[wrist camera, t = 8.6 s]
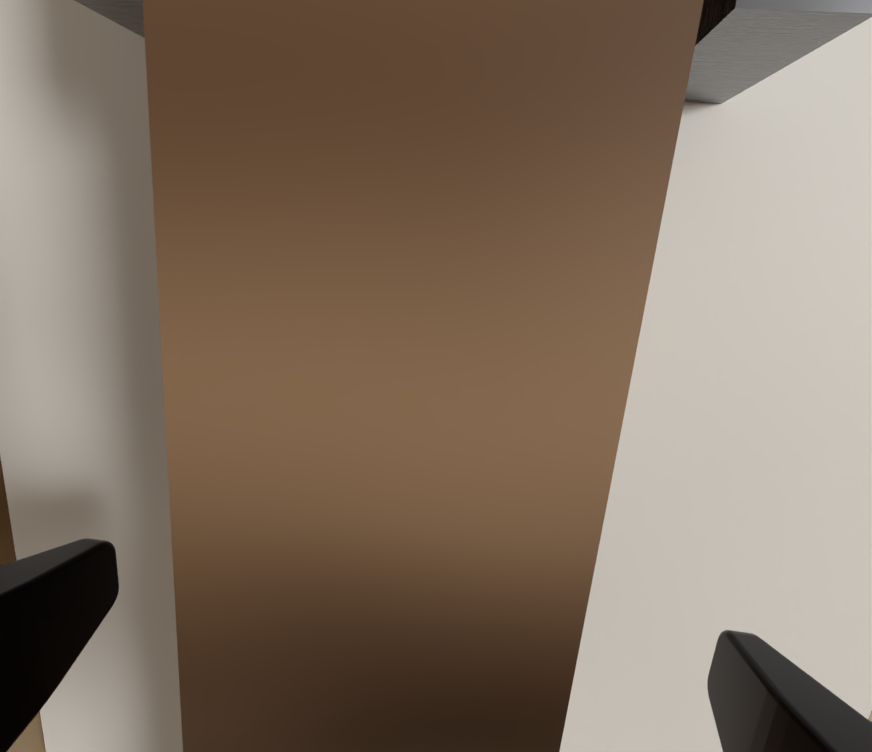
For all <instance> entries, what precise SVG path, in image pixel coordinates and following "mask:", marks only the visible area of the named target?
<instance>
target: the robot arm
mask: <svg viewBox="0 0 872 752" xmlns="http://www.w3.org/2000/svg"><path fill="white" fill-rule="evenodd" d="M118 592H119V579H118V569H117V559H116V550H115V547H114V545H113V544H112V543H111V542H109V541H104V540H97V539H90V538H85V539H80V540H77V541H74V542H71V543H68V544H65V545H62V546H59V547H56V548H53V549H50V550H47V551H44V552H41V553H38V554H35V555H32V556H29V557H26V558H23V559H20V560H17V561H14V562H11V563H8V564H5V565H2V566H0V752H7V751H8V750H9V748H10V747H11V746H12V745H13V743H14V742H15V741H16V740H17V739H18V737H19V736H20V735H21V734H22V732H23V731H24V730H25V729H26V727H27V726H28V725H29V724H30V722H31V721H32V720H33V719H34V717H35V716H36V715H37V714H38V712H39V711H40V710H41V709H42V707H43V706H44V705H45V703H46V702H47V701H48V699H49V698H50V697H51V695H52V694H53V692H54V691H55V690H56V688H57V687H58V686H59V684H60V683H61V681H62V680H63V678H64V677H65V675H66V674H67V672H68V671H69V670H70V668H71V667H72V665H73V664H74V662H75V661H76V659H77V658H78V656H79V655H80V653H81V652H82V650H83V649H84V647H85V646H86V645H87V643H88V642H89V640H90V639H91V637H92V636H93V634H94V633H95V631H96V630H97V628H98V627H99V625H100V624H101V623H102V621H103V620H104V618H105V617H106V615H107V614H108V612H109V611H110V609H111V608H112V606H113V605H114V603H115V601H116V599H117V596H118ZM707 689H708V696H709V700H710V704H711V708H712V712H713V716H714V719H715V723H716V727H717V731H718V735H719V739H720V743H721V747H722V750H723V752H872V722H871V721H869V720H868V719H867V718H865V717H864V716H863V715H861V714H860V713H859V712H857V711H856V710H855V709H853V708H852V707H851V706H849V705H848V704H847V703H845V702H844V701H843V700H842V699H840V698H839V697H838V696H836V695H835V694H834V693H832V692H831V691H830V690H828V689H827V688H826V687H824V686H823V685H822V684H820V683H819V682H818V681H816V680H815V679H814V678H812V677H811V676H810V675H809V674H807V673H806V672H805V671H803V670H802V669H801V668H799V667H798V666H797V665H795V664H794V663H793V662H791V661H790V660H789V659H787V658H786V657H785V656H783V655H782V654H781V653H779V652H778V651H777V650H776V649H774V648H773V647H772V646H770V645H769V644H768V643H766V642H765V641H764V640H762V639H761V638H760V637H758V636H757V635H755V634H752V633H747V632H739V631H732V630H725V631H723V632H721V633H720V635H719V637H718V640H717V643H716V647H715V651H714V655H713V659H712V663H711V666H710V670H709V674H708V680H707Z"/></svg>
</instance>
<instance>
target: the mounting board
mask: <svg viewBox="0 0 872 752" xmlns="http://www.w3.org/2000/svg"><path fill="white" fill-rule="evenodd" d="M0 457H1V463H2V470H3V476H4V483H5V489H6V496H7V502H8V509H9V515H10V521H11V528H12V534H13V541H14V547H15V554H16V560H20V559H23V558H26V557H29V556H32V555H35V554H38V553H41V552H44V551H47V550H50V549H53V548H56V547H59V546H62V545H65V544H68V543H71V542H74V541H77V540H80V539H85V538H90V539H97V540H104V541H109V542H111V543H112V544H113V545H114V547H115V550H116V559H117V569H118V579H119V592H118V596H117V599H116V601H115V603H114V605H113V606H112V608H111V609H110V611H109V612H108V614H107V615H106V617H105V618H104V620H103V621H102V623H101V624H100V625H99V627H98V628H97V630H96V631H95V633H94V634H93V636H92V637H91V639H90V640H89V642H88V643H87V645H86V646H85V647H84V649H83V650H82V652H81V653H80V655H79V656H78V658H77V659H76V661H75V662H74V664H73V665H72V667H71V668H70V670H69V671H68V672H67V674H66V675H65V677H64V678H63V680H62V681H61V683H60V684H59V686H58V687H57V688H56V690H55V691H54V692H53V694H52V695H51V697H50V698H49V699H48V701H47V702H46V703H45V705H44V706H43V707H42V709H41V710H40V715H41V722H42V728H43V735H44V741H45V748H46V752H183V742H182V724H181V705H180V686H179V668H178V649H177V631H176V612H175V593H174V575H173V556H172V538H171V519H170V500H169V482H168V463H167V445H166V426H165V407H164V389H163V370H162V352H161V333H160V314H159V296H158V277H157V259H156V240H155V221H154V203H153V184H152V166H151V147H150V128H149V110H148V91H147V73H146V54H145V38H143V37H141V36H140V35H138V34H136V33H134V32H132V31H130V30H128V29H126V28H125V27H123V26H121V25H119V24H117V23H115V22H113V21H112V20H110V19H108V18H106V17H104V16H102V15H100V14H99V13H97V12H95V11H93V10H91V9H89V8H87V7H86V6H84V5H82V4H80V3H78V2H76V1H74V0H0ZM725 630H732V631H739V632H747V633H752V634H755V635H757V636H758V637H760V638H761V639H762V640H764V641H765V642H766V643H768V644H769V645H770V646H772V647H773V648H774V649H776V650H777V651H778V652H779V653H781V654H782V655H783V656H785V657H786V658H787V659H789V660H790V661H791V662H793V663H794V664H795V665H797V666H798V667H799V668H801V669H802V670H803V671H805V672H806V673H807V674H809V675H810V676H811V677H812V678H814V679H815V680H816V681H818V682H819V683H820V684H822V685H823V686H824V687H826V688H827V689H828V690H830V691H831V692H832V693H834V694H835V695H836V696H838V697H839V698H840V699H842V700H843V701H844V702H845V703H847V704H848V705H849V706H851V707H852V708H853V709H855V710H856V711H857V712H859V713H860V714H861V715H863V716H864V717H865V718H867V719H868V718H869V715H870V713H871V710H872V17H871V18H869V19H868V20H866V21H864V22H862V23H861V24H859V25H857V26H855V27H854V28H852V29H850V30H848V31H847V32H845V33H843V34H842V35H840V36H838V37H836V38H835V39H833V40H831V41H829V42H828V43H826V44H824V45H822V46H821V47H819V48H817V49H816V50H814V51H812V52H810V53H809V54H807V55H805V56H803V57H802V58H800V59H798V60H797V61H795V62H793V63H791V64H790V65H788V66H786V67H784V68H783V69H781V70H779V71H777V72H776V73H774V74H772V75H771V76H769V77H767V78H765V79H764V80H762V81H760V82H758V83H757V84H755V85H753V86H751V87H750V88H748V89H746V90H745V91H743V92H741V93H739V94H738V95H736V96H734V97H732V98H731V99H729V100H727V101H726V102H724V103H722V104H716V103H698V102H684V106H683V111H682V116H681V121H680V127H679V132H678V137H677V142H676V147H675V153H674V158H673V163H672V168H671V173H670V179H669V184H668V189H667V194H666V199H665V205H664V210H663V215H662V220H661V225H660V231H659V236H658V241H657V246H656V252H655V257H654V262H653V267H652V272H651V278H650V283H649V288H648V293H647V298H646V304H645V309H644V314H643V319H642V324H641V330H640V335H639V340H638V345H637V350H636V356H635V361H634V366H633V371H632V376H631V382H630V387H629V392H628V397H627V403H626V408H625V413H624V418H623V423H622V429H621V434H620V439H619V444H618V449H617V455H616V460H615V465H614V470H613V475H612V481H611V486H610V491H609V496H608V501H607V507H606V512H605V517H604V522H603V527H602V533H601V538H600V543H599V548H598V553H597V559H596V564H595V569H594V574H593V580H592V585H591V590H590V595H589V600H588V606H587V611H586V616H585V621H584V626H583V632H582V637H581V642H580V647H579V652H578V658H577V663H576V668H575V673H574V678H573V684H572V689H571V694H570V699H569V704H568V710H567V715H566V720H565V725H564V730H563V736H562V741H561V746H560V751H559V752H723V750H722V747H721V743H720V739H719V735H718V731H717V727H716V723H715V719H714V716H713V712H712V708H711V704H710V700H709V696H708V689H707V680H708V674H709V670H710V666H711V663H712V659H713V655H714V651H715V647H716V643H717V640H718V637H719V635H720V633H721V632H723V631H725Z"/></svg>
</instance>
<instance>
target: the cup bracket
mask: <svg viewBox="0 0 872 752" xmlns="http://www.w3.org/2000/svg"><path fill="white" fill-rule="evenodd" d="M74 1H76V2H78V3H80V4H82V5H84V6H86V7H87V8H89V9H91V10H93V11H95V12H97V13H99V14H100V15H102V16H104V17H106V18H108V19H110V20H112V21H113V22H115V23H117V24H119V25H121V26H123V27H125V28H126V29H128V30H130V31H132V32H134V33H136V34H138V35H140V36H141V37H143V38H145V35H144V17H143V0H74ZM871 17H872V0H704V2H703V7H702V12H701V17H700V22H699V28H698V33H697V38H696V43H695V48H694V54H693V59H692V64H691V69H690V75H689V80H688V85H687V90H686V95H685V101H684V102H698V103H716V104H722V103H724V102H726V101H727V100H729V99H731V98H732V97H734V96H736V95H738V94H739V93H741V92H743V91H745V90H746V89H748V88H750V87H751V86H753V85H755V84H757V83H758V82H760V81H762V80H764V79H765V78H767V77H769V76H771V75H772V74H774V73H776V72H777V71H779V70H781V69H783V68H784V67H786V66H788V65H790V64H791V63H793V62H795V61H797V60H798V59H800V58H802V57H803V56H805V55H807V54H809V53H810V52H812V51H814V50H816V49H817V48H819V47H821V46H822V45H824V44H826V43H828V42H829V41H831V40H833V39H835V38H836V37H838V36H840V35H842V34H843V33H845V32H847V31H848V30H850V29H852V28H854V27H855V26H857V25H859V24H861V23H862V22H864V21H866V20H868V19H869V18H871Z"/></svg>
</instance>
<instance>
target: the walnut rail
mask: <svg viewBox="0 0 872 752" xmlns="http://www.w3.org/2000/svg"><path fill="white" fill-rule="evenodd" d="M703 2H704V0H143V17H144V35H145V54H146V73H147V91H148V110H149V128H150V147H151V166H152V184H153V203H154V221H155V240H156V259H157V277H158V296H159V314H160V333H161V352H162V370H163V389H164V407H165V426H166V445H167V463H168V482H169V500H170V519H171V538H172V556H173V575H174V593H175V612H176V631H177V649H178V668H179V686H180V705H181V724H182V742H183V752H559V751H560V746H561V741H562V736H563V730H564V725H565V720H566V715H567V710H568V704H569V699H570V694H571V689H572V684H573V678H574V673H575V668H576V663H577V658H578V652H579V647H580V642H581V637H582V632H583V626H584V621H585V616H586V611H587V606H588V600H589V595H590V590H591V585H592V580H593V574H594V569H595V564H596V559H597V553H598V548H599V543H600V538H601V533H602V527H603V522H604V517H605V512H606V507H607V501H608V496H609V491H610V486H611V481H612V475H613V470H614V465H615V460H616V455H617V449H618V444H619V439H620V434H621V429H622V423H623V418H624V413H625V408H626V403H627V397H628V392H629V387H630V382H631V376H632V371H633V366H634V361H635V356H636V350H637V345H638V340H639V335H640V330H641V324H642V319H643V314H644V309H645V304H646V298H647V293H648V288H649V283H650V278H651V272H652V267H653V262H654V257H655V252H656V246H657V241H658V236H659V231H660V225H661V220H662V215H663V210H664V205H665V199H666V194H667V189H668V184H669V179H670V173H671V168H672V163H673V158H674V153H675V147H676V142H677V137H678V132H679V127H680V121H681V116H682V111H683V106H684V101H685V95H686V90H687V85H688V80H689V75H690V69H691V64H692V59H693V54H694V48H695V43H696V38H697V33H698V28H699V22H700V17H701V12H702V7H703Z"/></svg>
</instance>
